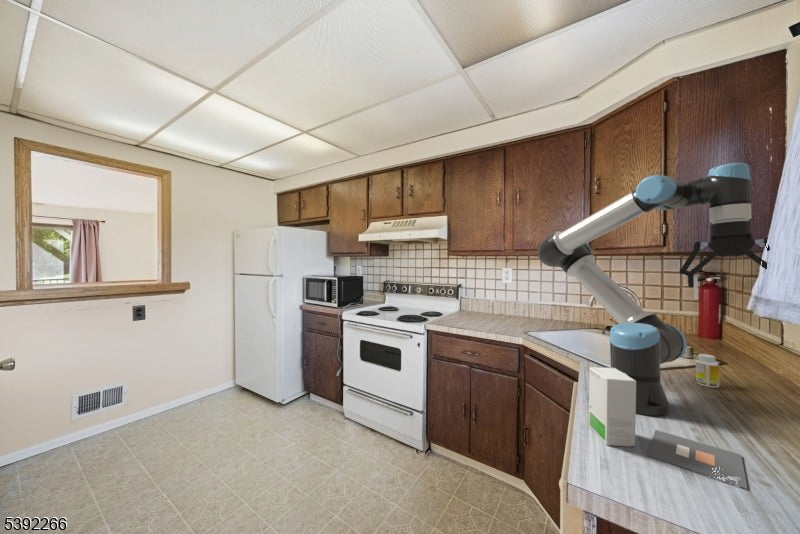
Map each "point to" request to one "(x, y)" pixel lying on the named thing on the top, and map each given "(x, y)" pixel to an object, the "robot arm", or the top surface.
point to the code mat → (697, 457)
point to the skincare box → (612, 406)
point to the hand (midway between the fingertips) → (731, 300)
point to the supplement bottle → (707, 371)
